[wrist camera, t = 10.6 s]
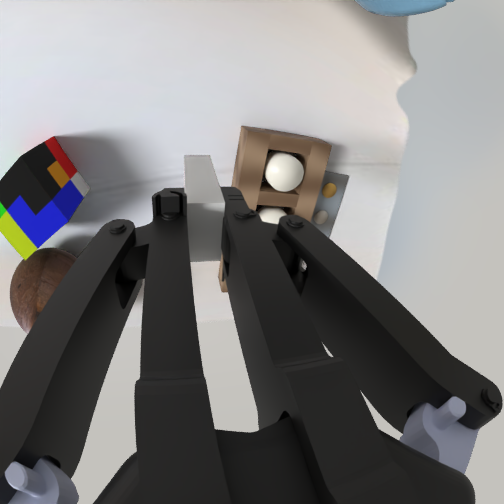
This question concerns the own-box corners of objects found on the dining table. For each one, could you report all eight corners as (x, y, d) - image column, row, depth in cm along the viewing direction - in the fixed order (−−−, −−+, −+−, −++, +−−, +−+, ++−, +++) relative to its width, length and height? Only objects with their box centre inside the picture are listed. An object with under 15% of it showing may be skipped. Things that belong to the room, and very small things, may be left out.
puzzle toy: (90, 188, 35) (68, 221, 27) (49, 223, 35) (25, 260, 27) (53, 136, 29) (20, 156, 21) (14, 177, 29) (-19, 206, 21)
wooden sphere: (32, 288, 41) (8, 349, 29) (28, 221, 34) (-13, 280, 22) (100, 306, 47) (88, 372, 35) (107, 240, 40) (87, 309, 28)
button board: (241, 125, 35) (248, 130, 32) (355, 147, 41) (369, 155, 38) (218, 277, 49) (221, 292, 46) (313, 275, 55) (322, 288, 52)
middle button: (256, 203, 40) (263, 214, 37) (288, 205, 41) (297, 216, 39) (250, 233, 43) (256, 246, 40) (281, 234, 44) (288, 246, 41)
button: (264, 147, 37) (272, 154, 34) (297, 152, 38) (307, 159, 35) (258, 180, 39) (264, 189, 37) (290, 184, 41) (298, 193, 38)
